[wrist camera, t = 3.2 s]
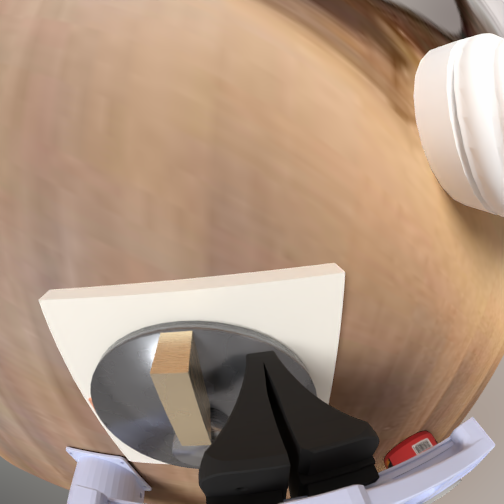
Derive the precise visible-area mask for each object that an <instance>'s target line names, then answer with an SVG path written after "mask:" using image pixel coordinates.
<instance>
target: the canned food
mask: <svg viewBox="0 0 504 504" xmlns="http://www.w3.org/2000/svg"><path fill="white" fill-rule="evenodd" d="M437 444H438V443H437V441H436V440H435V439H434V437H433V436H432V434H431V433H429V432H428V431H421V432H418V433H416V434H414V435H412V436H410V437H409V438H407V439H405V440H404V441H402V442H401V443H399V444H398V445H397V446H395V447H394V448H393V449H392V450H391V451H390V452H389V453H388V454H387V455H386V456H385V459H384V462H385V466H386V468H387V469H388V468H391V467H393V466H395V465H397V464H400V463H402V462H404V461H406V460H408V459H410V458H412V457H414V456H416V455H418V454H420V453H422V452H424V451H426V450H428V449H429V448H431V447H433V446H435V445H437ZM460 481H461V479H459V480H458V481H456V482H455V483H454V484H452V485H451V486H449V487H448V488H446V489H445V490H443V491H442V492H440V493H439V494H437V495H436V496H434V497H433V498H431V499H429V500H428V501H426V502H424V503H423V504H431V503H433V502H434V501H436V500H437V499H439V498H440V497H442V496H443V495H445V494H446V493H448V492H449V491H450V490H451V489H453V488H454V487H455V486H457V485H458V484H459V483H460Z"/></svg>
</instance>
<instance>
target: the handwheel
mask: <svg viewBox="0 0 504 504" xmlns="http://www.w3.org/2000/svg"><path fill="white" fill-rule="evenodd" d="M266 351H274V352H275V353H276V355H277V356H278V358H279V359H280V360H281V362H282V363H283V364H284V365H285V367H286V368H287V369H288V370H289V371H290V372H291V374H292V375H293V376H294V377H295V378H296V379H297V380H298V381H299V382H300V383H301V384H302V385H303V386H304V387H306V388H307V389H308V390H309V391H310V392H311V393H313V394H314V395H315V396H317V393H316V388H315V386H314V384H313V381H312V379H311V377H310V374H309V372H308V370H307V368H306V367H305V365H304V364H303V362H302V361H301V360H300V359H299V358H298V357H297V356H296V355H295V354H294V353H293V352H292V351H291V350H289V349H288V348H287V347H285V346H284V345H283V344H281V343H279V342H277V341H276V340H274V339H272V338H270V337H268V336H266V335H263V334H261V333H258V332H256V331H253V330H250V329H246V328H243V327H239V326H236V325H230V324H224V323H219V322H208V321H175V322H167V323H160V324H156V325H152V326H148V327H144V328H141V329H139V330H136V331H133V332H131V333H129V334H127V335H125V336H124V337H122V338H120V339H118V340H117V341H116V342H115V343H114V344H112V345H111V346H110V347H109V348H108V349H107V350H106V352H105V353H104V354H103V355H102V357H101V359H100V361H99V363H98V365H97V367H96V369H95V371H94V373H93V376H92V380H91V388H90V394H91V399H92V403H93V406H94V408H95V411H96V413H97V415H98V416H99V418H100V420H101V421H102V422H103V424H104V425H105V426H106V428H107V429H108V430H109V431H110V432H111V433H112V434H113V435H114V436H116V437H117V438H118V439H119V440H120V441H122V442H123V443H125V444H126V445H127V446H129V447H130V448H132V449H134V450H136V451H137V452H139V453H141V454H143V455H146V456H148V457H150V458H153V459H155V460H158V461H161V462H164V463H168V464H171V465H176V466H181V467H187V468H195V469H199V468H200V464H201V461H202V458H203V455H204V452H205V451H206V450H207V448H208V447H209V446H210V445H211V444H212V442H213V441H214V440H215V439H216V437H217V436H218V434H219V433H220V431H221V430H222V428H223V427H224V425H225V424H226V422H227V420H228V418H229V416H230V414H231V412H232V410H233V408H234V406H235V404H236V401H237V398H238V396H239V393H240V390H241V387H242V383H243V379H244V374H245V368H246V355H247V354H250V353H258V352H266Z"/></svg>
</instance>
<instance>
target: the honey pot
mask: <svg viewBox="0 0 504 504" xmlns="http://www.w3.org/2000/svg"><path fill="white" fill-rule="evenodd" d="M414 105H415V116H416V123H417V127H418V131H419V135H420V139H421V144H422V147H423V150H424V152H425V155H426V157H427V160H428V162H429V165H430V168H431V170H432V171H433V173H434V175H435V176H436V178H437V180H438V181H439V183H440V185H441V187H442V188H443V189H444V190H445V191H446V192H447V193H448V194H449V195H450V196H451V197H452V198H453V199H454V200H456V201H458V202H460V203H461V204H463V205H465V206H469V207H472V208H475V209H479V210H482V211H485V212H488V213H491V214H495V215H500V216H501V217H504V39H503V38H501V37H499V36H496V35H494V34H486V33H484V34H480V35H475V36H473V37H469V38H465V39H462V40H459V41H455V42H452V43H449V44H446V45H443V46H441V47H438V48H435V49H432V50H430V51H429V52H428V53H427V54H426V55H425V56H424V57H423V58H422V59H421V61H420V64H419V67H418V69H417V72H416V75H415V86H414Z"/></svg>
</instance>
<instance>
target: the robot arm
mask: <svg viewBox="0 0 504 504" xmlns="http://www.w3.org/2000/svg"><path fill="white" fill-rule="evenodd" d="M378 444H379V438H378V436H377V434H376V433H375V431H374V430H373V429H372V427H371V426H370V425H369V424H368V422H365V421H362V420H359V419H357V418H354V417H351V416H349V415H347V414H345V413H343V412H341V411H339V410H337V409H335V408H334V407H332V406H330V405H328V404H327V403H325V402H324V401H322V400H321V399H319V398H318V397H317V396H315V395H314V394H313V393H311V392H310V391H309V390H308V389H307V388H306V387H304V386H303V385H302V384H301V383H300V382H299V381H298V380H297V379H296V378H295V377H294V376H293V375H292V374H291V372H290V371H289V370H288V369H287V368H286V367H285V365H284V364H283V363H282V362H281V360H280V359H279V358H278V356H277V355H276V353H275V352H274V351H266V352H258V353H250V354H247V355H246V368H245V374H244V379H243V383H242V387H241V390H240V393H239V396H238V398H237V401H236V404H235V406H234V408H233V410H232V412H231V414H230V416H229V418H228V420H227V422H226V424H225V425H224V427H223V428H222V430H221V431H220V433H219V434H218V436H217V437H216V439H215V440H214V441H213V442H212V444H211V445H210V446H209V447H208V448H207V450H206V451H205V452H204V455H203V458H202V461H201V464H200V468H199V486H200V488H201V489H202V491H203V492H204V494H205V495H206V504H423V503H424V502H426V501H428V500H429V499H431V498H433V497H434V496H436V495H437V494H439V493H440V492H442V491H443V490H445V489H446V488H448V487H449V486H451V485H452V484H454V483H455V482H456V481H458V480H459V479H461V478H462V477H463V476H465V475H466V474H467V473H469V472H470V471H471V470H473V469H474V468H475V467H476V466H477V465H478V463H480V462H481V460H482V459H484V457H485V456H486V455H487V454H488V453H489V452H490V451H491V450H492V449H493V448H494V447H495V444H494V442H493V441H492V440H491V439H490V437H489V436H488V435H487V433H486V432H485V431H484V430H483V429H482V427H481V426H480V425H479V424H478V422H477V421H476V420H475V419H474V417H471V418H469V419H468V420H466V421H465V422H464V423H462V424H460V425H459V426H458V427H457V428H455V430H454V431H453V432H452V433H451V435H450V437H448V438H447V439H445V440H443V441H442V442H440V443H438V444H437V445H435V446H433V447H431V448H429V449H428V450H426V451H424V452H422V453H420V454H418V455H416V456H414V457H412V458H410V459H408V460H406V461H404V462H402V463H400V464H397V465H395V466H393V467H391V468H388V469H386V470H384V471H381V472H379V473H378V472H377V470H376V468H375V466H374V464H375V460H374V458H373V454H374V452H375V450H376V448H377V447H378ZM66 451H67V452H68V453H69V454H70V455H71V456H72V457H73V458H74V459H75V460H76V461H77V462H78V463H77V466H76V469H75V473H74V477H73V480H72V484H71V488H70V492H69V496H68V500H67V504H144V492H145V491H151V490H152V488H151V487H150V486H149V485H148V484H147V483H146V482H145V481H144V480H143V479H142V477H141V476H140V475H139V474H138V473H137V472H136V471H135V470H134V469H133V467H132V466H131V465H130V464H129V463H128V462H127V460H126V459H125V458H123V457H120V456H113V455H107V454H101V453H95V452H90V451H84V450H80V449H75V448H71V447H66ZM288 486H289V491H290V497H291V498H290V499H286V492H287V489H288Z"/></svg>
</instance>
